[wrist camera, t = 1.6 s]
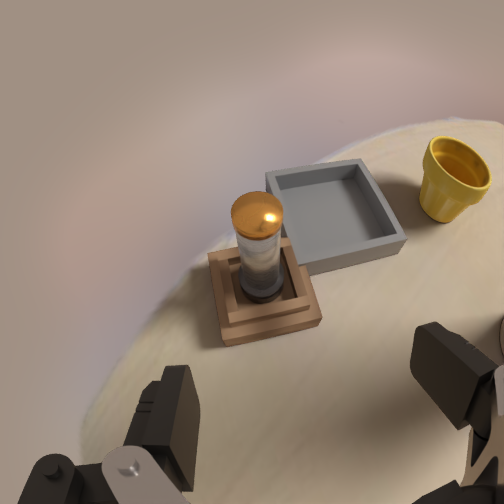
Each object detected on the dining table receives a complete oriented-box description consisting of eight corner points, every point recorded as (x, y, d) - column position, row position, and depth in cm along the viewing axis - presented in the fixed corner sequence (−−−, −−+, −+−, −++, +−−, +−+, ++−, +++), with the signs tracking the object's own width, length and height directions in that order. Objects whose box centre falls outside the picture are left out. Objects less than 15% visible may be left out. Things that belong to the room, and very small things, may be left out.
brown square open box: (293, 248, 36) (295, 227, 32) (317, 325, 31) (325, 312, 27) (212, 266, 36) (204, 246, 32) (226, 347, 31) (220, 336, 27)
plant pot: (394, 189, 41) (414, 140, 32) (435, 174, 42) (456, 130, 34) (436, 243, 36) (468, 198, 27) (473, 221, 37) (503, 179, 29)
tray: (356, 175, 42) (360, 158, 39) (397, 253, 35) (407, 238, 32) (265, 190, 41) (265, 172, 38) (294, 279, 34) (296, 265, 31)
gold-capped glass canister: (277, 261, 32) (279, 182, 22) (288, 298, 30) (297, 230, 20) (236, 269, 32) (220, 193, 22) (245, 308, 30) (231, 243, 19)
